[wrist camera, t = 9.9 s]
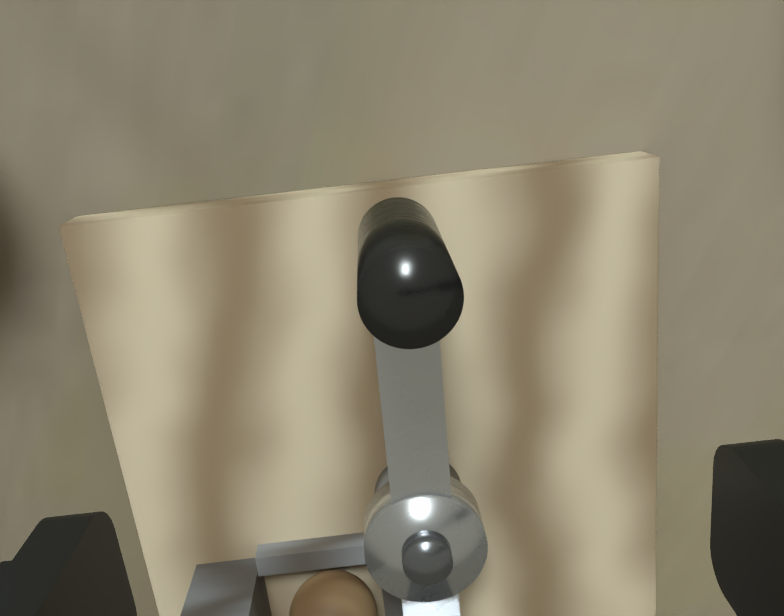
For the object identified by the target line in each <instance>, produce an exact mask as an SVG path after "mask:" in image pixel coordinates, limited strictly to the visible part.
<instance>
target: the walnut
mask: <svg viewBox="0 0 784 616" xmlns="http://www.w3.org/2000/svg"><path fill="white" fill-rule="evenodd" d="M289 616H378V613H377V605H376V601H375V599H374V596H373V594H372V592H371V590H370V589H369V587H368V586H367V585H366V584H365V582H364V581H362V580H361V579H360V578H359V577H357V576H356V575H354V574H352V573H350V572H347V571H343V570H326V571H322V572H319V573H317V574H315V575H313V576H311V577H310V578H309V579H307V580H306V581H305V582H304V583H303V584H302V585H301V586H300V587H299V589H298V590H297V592H296V594H295V595H294V598H293V600H292V603H291V606H290V611H289Z"/></svg>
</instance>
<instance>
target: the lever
mask: <svg viewBox="0 0 784 616" xmlns="http://www.w3.org/2000/svg"><path fill="white" fill-rule="evenodd" d="M463 304H464V290H463V285H462V282H461V279H460V277H459V275H458V272H457V270H456V268H455V266H454V263H453V261H452V259H451V257H450V254H449V252H448V250H447V248H446V245H445V243H444V241H443V239H442V236H441V234H440V232H439V230H438V227H437V225H436V223H435V221H434V218H433V217H432V215H431V214H430V212H429V211H428V210H427V209H426V208H425V207H424V206H423V205H421V204H420V203H418V202H416V201H414V200H412V199H408V198H403V197H393V198H388V199H385V200H382V201H380V202H378V203H376V204H375V205H374V206H372V207H371V208H370V209H369V210H368V211H367V212H366V214H365V215H364V216H363V217H362V220H361V223H360V225H359V229H358V251H357V307H358V312H359V315H360V318H361V320H362V322H363V324H364V325H365V327H366V328H367V330H368V331H369V332H370V333H371V334H372V335H373V336H374V344H375V353H376V363H377V372H378V382H379V391H380V401H381V410H382V420H383V429H384V439H385V448H386V457H387V467H388V476H389V481H388V482H387V483H386V484H384V485H383V486H382V487H381V488H380V489H379V490H377V492H376V493H375V494H374V495H373V497H372V498H371V500H370V502H369V504H368V506H367V508H366V512H365V517H364V557H365V563H366V566H367V569H368V571H369V573H370V575H371V577H372V578H373V579H374V581H375V582H376V583H377V584H378V585H379V586H380V587H381V588H382V589H384V590H385V591H386V592H388V593H390V594H391V595H393V596H396V597H398V598H400V599H401V600H402V609H403V616H460V603H459V593H460V592H461V591H463V590H464V589H466V588H467V587H468V586H469V585H471V584H472V583H473V582H474V580H475V579H476V578H477V577H478V576H479V574H480V573H481V571H482V569H483V567H484V565H485V562H486V559H487V553H488V543H487V537H486V533H485V529H484V525H483V522H482V518H481V514H480V510H479V507H478V503H477V501H476V499H475V497H474V496H473V494H472V493H471V491H470V490H469V489H468V488H467V487H466V486H465V485H464V484H462V483H461V482H460V481H458V480H457V479H455V478H453V477H451V476H450V469H449V455H448V442H447V429H446V415H445V402H444V388H443V375H442V362H441V348H440V340H441V339H442V338H444V337H445V336H446V335H447V334H448V333H449V332H450V331H451V330H452V329H453V328H454V326H455V325H456V323H457V322H458V320H459V318H460V315H461V313H462V309H463Z"/></svg>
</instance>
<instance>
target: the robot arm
mask: <svg viewBox="0 0 784 616" xmlns="http://www.w3.org/2000/svg"><path fill="white" fill-rule="evenodd" d="M710 550H711V558H712V564H713V568H714V572H715V575H716V578H717V581H718V584H719V586H720V588H721V590H722V593H723V594H724V596H725V598H726V599H727V601H728V602H729V604H730V605H731V607H732V608H733V610H734V611H735V613H736V615H737V616H784V441H783V440H781V439H774V440H764V441H755V442H746V443H737V444H728V445H721V446H720V447H718V449H717V450H716V453H715V456H714V463H713V486H712V512H711V537H710ZM0 616H137V613H136V607H135V602H134V599H133V595H132V591H131V588H130V584H129V580H128V576H127V573H126V569H125V565H124V562H123V558H122V554H121V551H120V547H119V543H118V539H117V536H116V532H115V528H114V525H113V523H112V520H111V518H110V517H109V515H108V514H106V513H105V512H93V513H84V514H74V515H65V516H56V517H47V518H44V519H43V520H41V521H40V522H39V523H38V524H37V526H36V527H35V529H34V530H33V532H32V533H31V534H30V536H29V537H28V539H27V540H26V542H25V543H24V544H23V546H22V547H21V549H20V550H19V552H18V553H17V554H16V556H15V557H14V559H13V560H12V561H4V562H1V563H0Z"/></svg>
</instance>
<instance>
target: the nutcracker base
mask: <svg viewBox="0 0 784 616" xmlns="http://www.w3.org/2000/svg"><path fill="white" fill-rule="evenodd" d="M393 197H403V198H408V199H412V200H414V201H416V202H418V203H420V204H421V205H423V206H424V207H425V208H426V209H427V210H428V211H429V212H430V214H431V215H432V217H433V218H434V221H435V223H436V225H437V227H438V230H439V232H440V234H441V236H442V239H443V241H444V243H445V245H446V248H447V250H448V252H449V254H450V257H451V259H452V261H453V263H454V266H455V268H456V270H457V272H458V275H459V277H460V279H461V282H462V285H463V290H464V304H463V309H462V313H461V315H460V318H459V320H458V322H457V323H456V325H455V326H454V328H453V329H452V330H451V331H450V332H449V333H448V334H447V335H446V336H445V337H444V338H442V339H441V340H440V348H441V362H442V375H443V388H444V402H445V415H446V429H447V442H448V455H449V469H450V476H451V477H453V478H455V479H457V480H458V481H460V482H461V483H462V484H464V485H465V486H466V487H467V488H468V489H469V490H470V491H471V493H472V494H473V496H474V497H475V499H476V501H477V503H478V507H479V510H480V514H481V518H482V522H483V525H484V529H485V533H486V537H487V543H488V553H487V559H486V562H485V565H484V567H483V569H482V571H481V573H480V574H479V576H478V577H477V578H476V579H475V580H474V582H473V583H472V584H471V585H469V586H468V587H467V588H466V589H464V590H463V591H461V592H460V593H459V603H460V616H655V609H656V491H657V372H658V253H659V157H657V156H654V155H651V154H648V153H645V152H642V151H639V152H630V153H621V154H613V155H604V156H595V157H587V158H578V159H569V160H561V161H552V162H543V163H535V164H526V165H517V166H509V167H500V168H491V169H483V170H474V171H465V172H457V173H448V174H439V175H431V176H422V177H413V178H405V179H396V180H387V181H379V182H370V183H361V184H353V185H344V186H335V187H327V188H318V189H309V190H301V191H292V192H284V193H275V194H266V195H258V196H249V197H240V198H232V199H223V200H214V201H206V202H197V203H188V204H180V205H171V206H162V207H154V208H145V209H136V210H128V211H119V212H110V213H102V214H93V215H84V216H76V217H75V218H73V219H71V220H70V221H68V222H66V223H64V224H63V225H61V226H59V230H60V234H61V238H62V242H63V246H64V250H65V253H66V257H67V261H68V265H69V269H70V273H71V276H72V280H73V284H74V288H75V292H76V296H77V300H78V303H79V307H80V311H81V315H82V319H83V323H84V327H85V330H86V334H87V338H88V342H89V346H90V350H91V353H92V357H93V361H94V365H95V369H96V373H97V377H98V380H99V384H100V388H101V392H102V396H103V400H104V404H105V407H106V411H107V415H108V419H109V423H110V427H111V430H112V434H113V438H114V442H115V446H116V450H117V454H118V457H119V461H120V465H121V469H122V473H123V477H124V481H125V484H126V488H127V492H128V496H129V500H130V504H131V507H132V511H133V515H134V519H135V523H136V527H137V531H138V534H139V538H140V542H141V546H142V550H143V554H144V558H145V561H146V565H147V569H148V573H149V577H150V581H151V585H152V588H153V592H154V596H155V600H156V604H157V608H158V611H159V615H160V616H289V611H290V606H291V603H292V600H293V598H294V595H295V594H296V592H297V590H298V589H299V587H300V586H301V585H302V584H303V583H304V582H305V581H306V580H307V579H309V578H310V577H311V576H313V575H315V574H317V573H319V572H322V571H326V570H343V571H347V572H350V573H352V574H354V575H356V576H357V577H359V578H360V579H361V580H362V581H364V582H365V584H366V585H367V586H368V587H369V589H370V590H371V592H372V594H373V596H374V599H375V601H376V605H377V613H378V616H403V609H402V600H401V599H400V598H398V597H396V596H393V595H391V594H390V593H388V592H386V591H385V590H384V589H382V588H381V587H380V586H379V585H378V584H377V583H376V582H375V581H374V579H373V578H372V577H371V575H370V573H369V571H368V569H367V566H366V563H365V557H364V517H365V512H366V508H367V506H368V504H369V502H370V500H371V498H372V497H373V495H374V494H375V493H376V492H377V490H379V489H380V488H381V487H382V486H383V485H384V484H386V483H387V482H388V481H389V476H388V467H387V457H386V448H385V439H384V429H383V420H382V410H381V401H380V391H379V382H378V372H377V363H376V353H375V344H374V336H373V335H372V334H371V333H370V332H369V331H368V330H367V328H366V327H365V325H364V324H363V322H362V320H361V318H360V315H359V312H358V307H357V251H358V229H359V225H360V223H361V220H362V217H363V216H364V215H365V214H366V212H367V211H368V210H369V209H370V208H371V207H372V206H374V205H375V204H376V203H378V202H380V201H382V200H385V199H388V198H393Z"/></svg>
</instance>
